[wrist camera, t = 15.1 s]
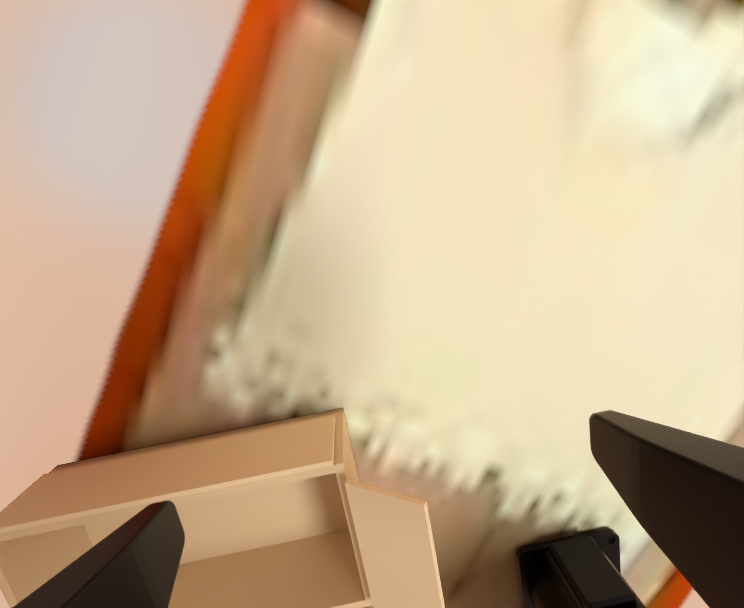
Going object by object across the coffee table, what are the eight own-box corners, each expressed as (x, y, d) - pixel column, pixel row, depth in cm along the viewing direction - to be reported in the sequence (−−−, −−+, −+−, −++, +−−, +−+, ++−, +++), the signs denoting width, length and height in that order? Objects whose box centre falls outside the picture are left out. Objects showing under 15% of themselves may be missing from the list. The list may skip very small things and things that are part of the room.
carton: (370, 531, 24) (377, 616, 19) (109, 586, 24) (45, 687, 19) (341, 402, 22) (341, 458, 17) (55, 459, 22) (-33, 535, 17)
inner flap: (373, 610, 18) (376, 605, 19) (448, 646, 16) (450, 640, 16) (344, 483, 17) (347, 479, 17) (423, 505, 15) (426, 501, 15)
